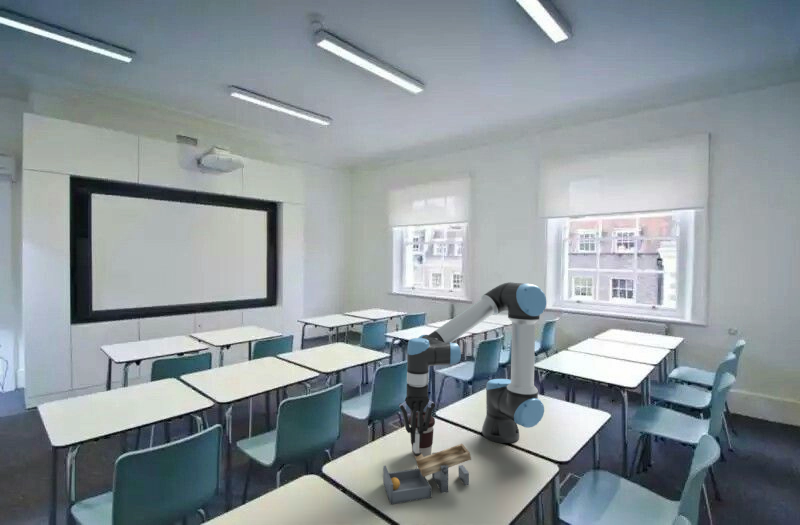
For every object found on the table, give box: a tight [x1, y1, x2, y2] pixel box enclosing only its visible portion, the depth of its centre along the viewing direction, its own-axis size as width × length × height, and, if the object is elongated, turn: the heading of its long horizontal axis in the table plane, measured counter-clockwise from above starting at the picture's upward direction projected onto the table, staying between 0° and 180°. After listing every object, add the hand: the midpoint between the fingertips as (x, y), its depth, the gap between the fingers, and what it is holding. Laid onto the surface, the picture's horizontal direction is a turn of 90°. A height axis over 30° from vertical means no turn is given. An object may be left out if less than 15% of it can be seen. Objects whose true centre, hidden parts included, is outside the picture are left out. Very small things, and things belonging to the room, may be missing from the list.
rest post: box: [457, 464, 470, 486], centre depth 126 cm, size 2×5×4 cm, turn 14°
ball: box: [391, 477, 400, 490], centre depth 120 cm, size 4×4×4 cm
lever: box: [412, 443, 472, 478], centre depth 128 cm, size 17×14×2 cm
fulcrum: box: [431, 451, 449, 494], centre depth 124 cm, size 2×10×8 cm, turn 14°
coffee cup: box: [408, 411, 436, 457], centre depth 143 cm, size 10×10×15 cm
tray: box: [382, 465, 432, 505], centre depth 121 cm, size 13×11×6 cm
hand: (416, 451), depth 131 cm, fingers closed
